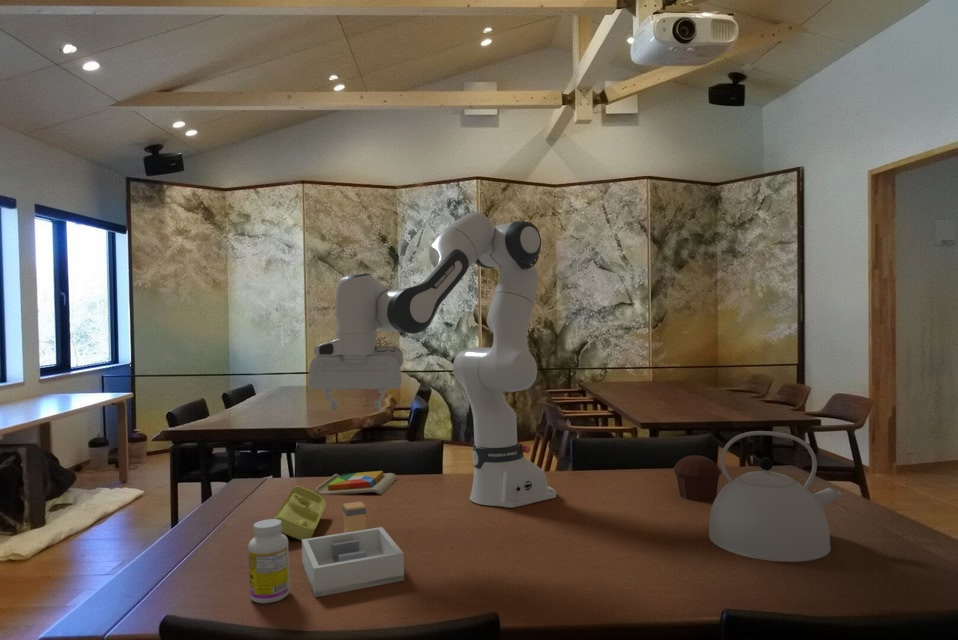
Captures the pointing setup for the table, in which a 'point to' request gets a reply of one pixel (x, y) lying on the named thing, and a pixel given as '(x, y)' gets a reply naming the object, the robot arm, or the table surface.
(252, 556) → the supplement bottle
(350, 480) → the wooden puzzle
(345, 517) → the tan tall block
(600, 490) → the table surface
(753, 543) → the kettle
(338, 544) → the walled box
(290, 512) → the plastic component
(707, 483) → the muffin
